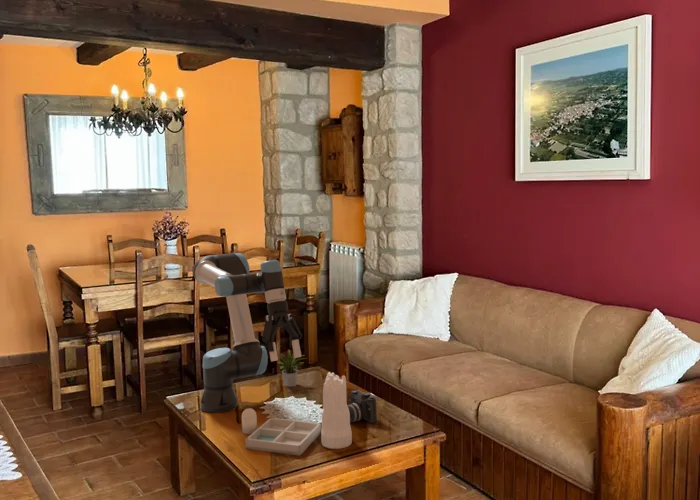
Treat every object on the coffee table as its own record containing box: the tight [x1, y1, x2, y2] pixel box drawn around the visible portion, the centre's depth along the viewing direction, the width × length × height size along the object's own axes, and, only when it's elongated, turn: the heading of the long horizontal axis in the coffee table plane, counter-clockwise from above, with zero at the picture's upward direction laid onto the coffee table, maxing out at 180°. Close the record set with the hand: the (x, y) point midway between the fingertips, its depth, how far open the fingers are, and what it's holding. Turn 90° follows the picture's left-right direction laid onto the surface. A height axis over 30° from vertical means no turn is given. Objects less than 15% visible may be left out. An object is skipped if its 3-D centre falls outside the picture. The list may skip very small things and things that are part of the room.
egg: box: [241, 407, 258, 435], centre depth 248 cm, size 6×6×9 cm
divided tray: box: [245, 417, 322, 457], centre depth 240 cm, size 20×20×4 cm
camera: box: [347, 389, 378, 424], centre depth 258 cm, size 14×11×10 cm
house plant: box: [277, 348, 307, 388], centre depth 298 cm, size 14×14×16 cm
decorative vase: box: [320, 371, 353, 450], centre depth 236 cm, size 11×11×25 cm
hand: (286, 359), depth 243 cm, fingers open, 13 cm apart
